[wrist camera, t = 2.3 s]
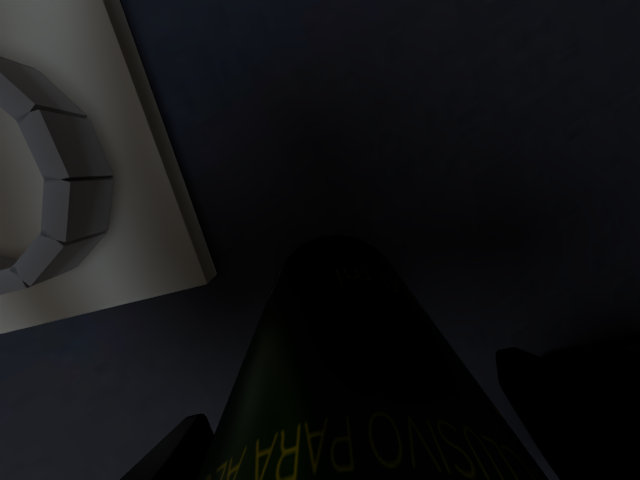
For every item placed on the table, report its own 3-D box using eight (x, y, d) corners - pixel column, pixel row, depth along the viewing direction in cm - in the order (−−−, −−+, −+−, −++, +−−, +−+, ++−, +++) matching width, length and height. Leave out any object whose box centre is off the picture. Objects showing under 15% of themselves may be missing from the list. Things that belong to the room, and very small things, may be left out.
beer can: (276, 339, 14) (68, 1168, 2) (276, 229, 13) (-176, 877, 1) (388, 342, 14) (712, 1165, 2) (399, 233, 13) (1186, 884, 1)
